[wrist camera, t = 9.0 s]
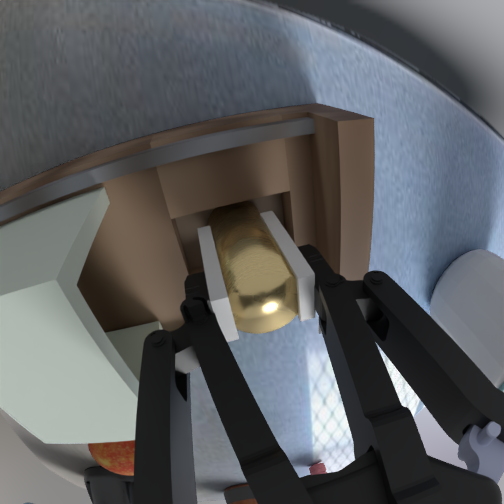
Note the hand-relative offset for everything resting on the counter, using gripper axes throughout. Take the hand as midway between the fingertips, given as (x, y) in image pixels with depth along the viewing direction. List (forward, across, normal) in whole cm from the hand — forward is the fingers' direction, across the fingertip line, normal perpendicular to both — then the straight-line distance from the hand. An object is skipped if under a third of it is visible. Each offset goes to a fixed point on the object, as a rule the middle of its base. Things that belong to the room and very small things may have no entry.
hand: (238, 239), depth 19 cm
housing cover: (0, -11, 0) cm, 11 cm away
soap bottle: (+3, +26, -15) cm, 30 cm away
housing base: (+3, -5, 0) cm, 6 cm away
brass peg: (+2, 0, 0) cm, 2 cm away
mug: (+3, -12, -70) cm, 71 cm away
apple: (+3, -18, -22) cm, 29 cm away
